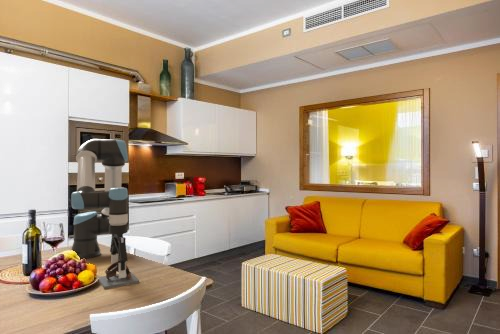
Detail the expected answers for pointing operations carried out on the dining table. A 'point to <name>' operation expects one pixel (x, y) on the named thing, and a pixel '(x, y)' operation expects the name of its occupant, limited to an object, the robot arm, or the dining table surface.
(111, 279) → the slate mat
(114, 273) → the brown arch piece
